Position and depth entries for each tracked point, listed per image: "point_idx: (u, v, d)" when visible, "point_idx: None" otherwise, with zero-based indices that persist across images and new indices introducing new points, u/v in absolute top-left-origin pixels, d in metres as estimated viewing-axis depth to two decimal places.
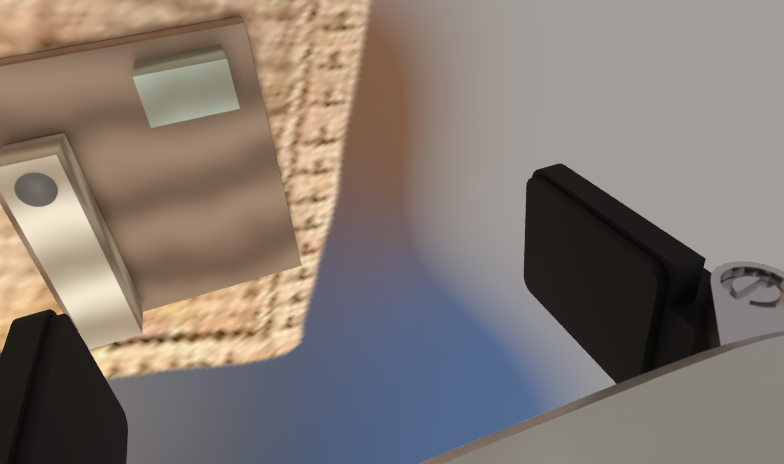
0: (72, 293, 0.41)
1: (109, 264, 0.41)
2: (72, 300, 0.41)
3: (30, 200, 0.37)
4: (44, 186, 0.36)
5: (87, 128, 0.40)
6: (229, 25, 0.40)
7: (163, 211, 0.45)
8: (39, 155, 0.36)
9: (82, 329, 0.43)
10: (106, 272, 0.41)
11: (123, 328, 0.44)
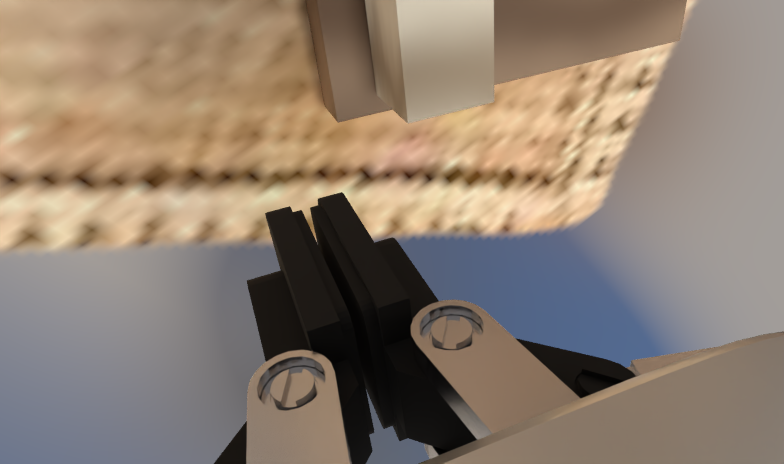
0: None
1: None
2: None
3: None
4: None
5: None
6: None
7: None
8: None
9: (409, 72, 0.22)
10: None
11: (470, 83, 0.23)
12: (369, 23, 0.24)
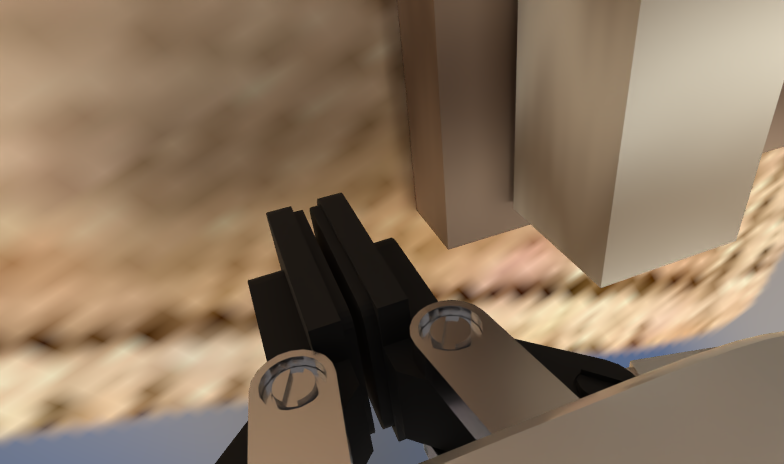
0: (672, 45, 0.10)
1: None
2: (658, 80, 0.10)
3: None
4: None
5: None
6: None
7: None
8: None
9: (621, 211, 0.12)
10: None
11: (710, 217, 0.13)
12: (521, 104, 0.14)
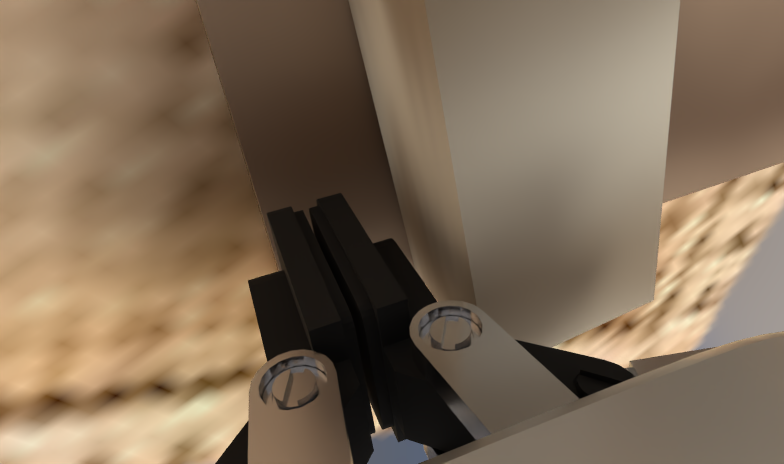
0: (499, 118, 0.08)
1: None
2: (493, 158, 0.09)
3: None
4: None
5: None
6: None
7: None
8: None
9: (489, 298, 0.10)
10: None
11: (612, 284, 0.11)
12: (392, 163, 0.12)
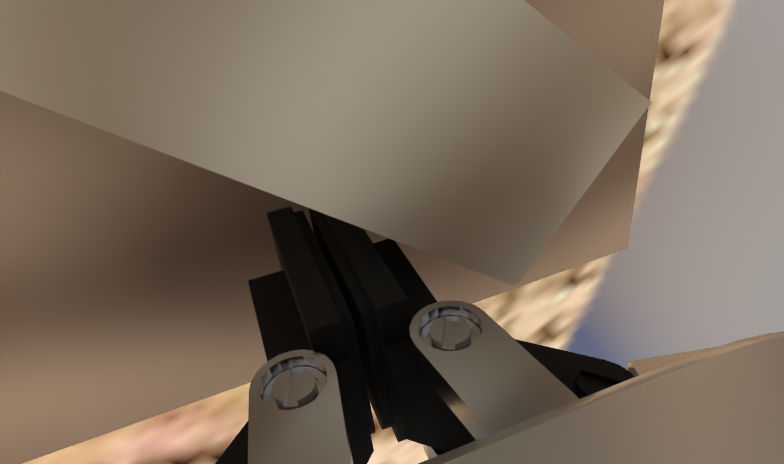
0: (278, 131, 0.07)
1: None
2: (311, 161, 0.08)
3: None
4: None
5: None
6: None
7: None
8: None
9: (443, 243, 0.09)
10: None
11: (575, 132, 0.09)
12: None
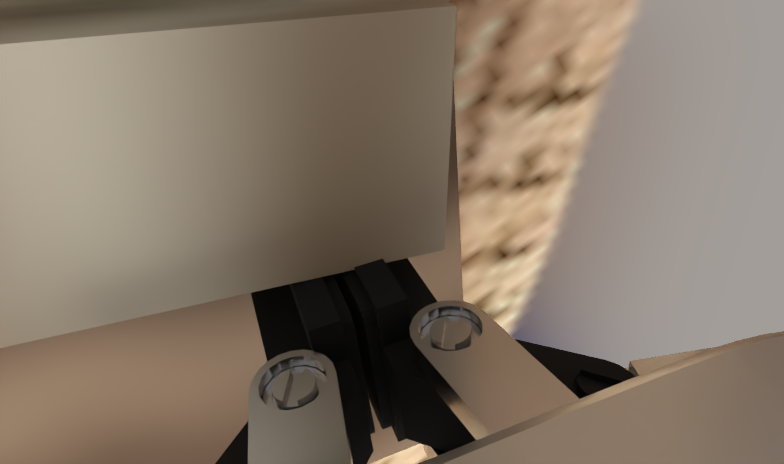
0: (84, 278, 0.08)
1: None
2: (135, 280, 0.08)
3: None
4: None
5: None
6: None
7: (75, 333, 0.13)
8: None
9: (328, 262, 0.09)
10: None
11: (385, 93, 0.08)
12: None
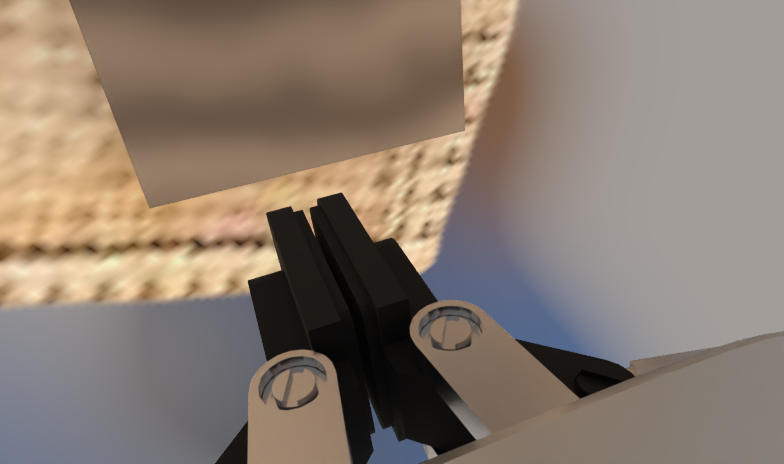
0: None
1: None
2: None
3: None
4: None
5: None
6: None
7: (293, 12, 0.29)
8: None
9: None
10: None
11: None
12: None
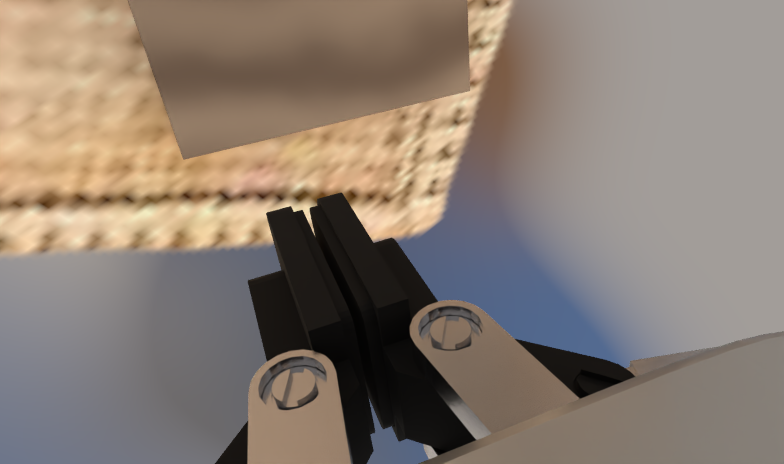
0: None
1: None
2: None
3: None
4: None
5: None
6: None
7: None
8: None
9: None
10: None
11: None
12: None
